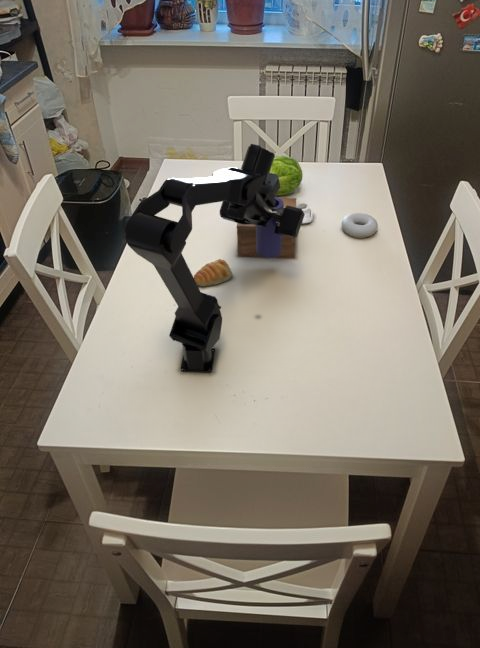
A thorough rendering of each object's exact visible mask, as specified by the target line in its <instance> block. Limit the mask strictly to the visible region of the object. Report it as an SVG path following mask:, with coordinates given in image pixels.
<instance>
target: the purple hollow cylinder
mask: <svg viewBox="0 0 480 648" xmlns="http://www.w3.org/2000/svg"><path fill="white" fill-rule="evenodd" d="M280 198H281V197H278V196H275V198H274V200H275V201H276V203H275V206H274V207H272V208H273V209H277V210H280V209H281V208H283V207H284V202H283V201H282V200H281V199H280ZM274 214H275V213H274ZM276 215H278V214H276ZM279 215H280V214H279ZM276 226H277V223H276V220H272V219H270V220H269V222H268V223H267V224H266V227H262V226H258V225H256V252H257V254H258V255H260V256H261V257H260V258H265V259H273V258H278V257H277V256H279V255H280V254H281V252H282V235H280V234H276V233H274V232H275V229H276Z"/></svg>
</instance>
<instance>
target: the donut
mask: <svg viewBox="0 0 480 648" xmlns="http://www.w3.org/2000/svg"><path fill="white" fill-rule="evenodd" d="M341 228H342V230H343V231H344V233H346V234H347V235H348V236H350V237H353V238H359V239H360V238H361V239H362V238H363V239H364V238H368V237H369V238H370V237H371V236H373V235H374V234H375V233H376V232H377V231H378V228H379V225H378V221H377V219H376V218H374V217H373V216H372V215H370V214H368V213H363V212H351V213H350V214H347V215H345V216H344V217H343V219H342V221H341Z"/></svg>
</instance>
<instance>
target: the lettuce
mask: <svg viewBox="0 0 480 648" xmlns="http://www.w3.org/2000/svg"><path fill="white" fill-rule="evenodd" d="M269 173H273V174H276V175H278V178H279V182H280V189H279V190H278V192H277V194H276V196H275V197H278V196H285V195H286V196H287V195H290V194H292V193H293V192H294V191H295V190H296V189H298V188H299V186H300V184H301V183H302V180H303V170H302V167H301V165H300V163H299V162H298V161H297V160H296V159H295V158H294V157H291V156H287V155H278V156H276V155H275V157H274V160H273V163H272V166H271V169H270V172H269Z"/></svg>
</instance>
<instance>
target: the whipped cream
mask: <svg viewBox="0 0 480 648" xmlns="http://www.w3.org/2000/svg"><path fill="white" fill-rule="evenodd" d="M296 208H300V209H302V211H303V212H304V214H305V215H304V218H303V221H302V224H309V223H311V222H313V220H314V214H313V209H312V208H311V206H310V205H309V204H308V203H306V202H303V201H302V202H298V203H296Z"/></svg>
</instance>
